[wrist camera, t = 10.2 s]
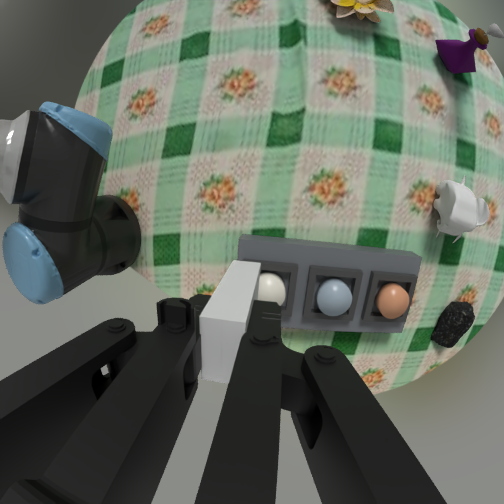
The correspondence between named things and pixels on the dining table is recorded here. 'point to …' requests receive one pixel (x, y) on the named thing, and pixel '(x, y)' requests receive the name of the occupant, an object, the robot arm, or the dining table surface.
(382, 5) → the decorative flower
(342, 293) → the slate button
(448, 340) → the rock
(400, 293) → the terracotta button
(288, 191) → the dining table surface
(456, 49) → the perfume bottle
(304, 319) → the console
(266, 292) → the ivory button
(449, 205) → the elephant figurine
